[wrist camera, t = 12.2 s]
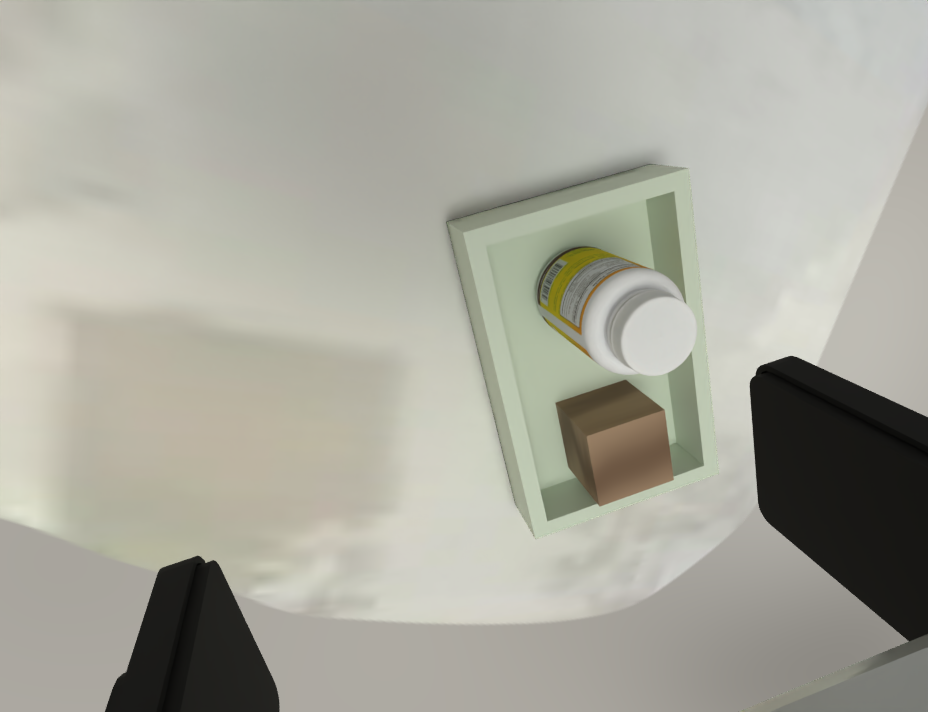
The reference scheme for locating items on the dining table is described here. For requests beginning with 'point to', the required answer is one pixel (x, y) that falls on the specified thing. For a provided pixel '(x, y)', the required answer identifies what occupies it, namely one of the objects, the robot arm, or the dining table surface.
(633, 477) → the walnut block
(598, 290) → the supplement bottle
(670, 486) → the tote
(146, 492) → the dining table surface
